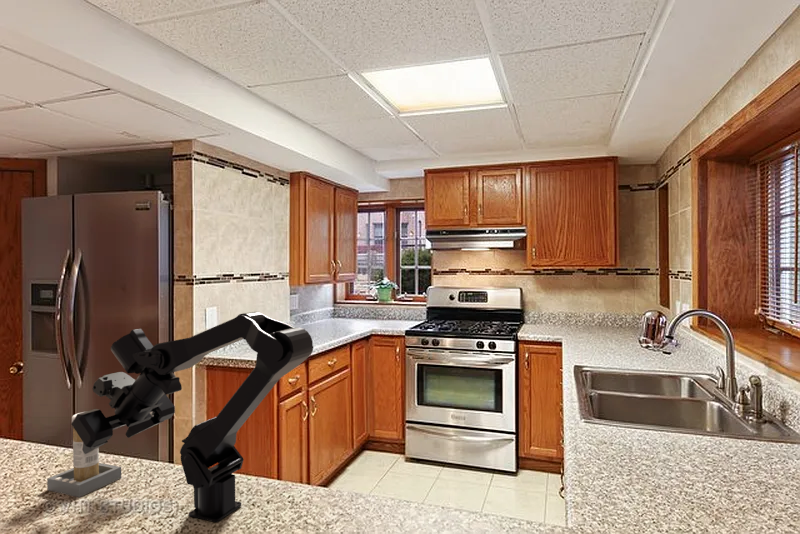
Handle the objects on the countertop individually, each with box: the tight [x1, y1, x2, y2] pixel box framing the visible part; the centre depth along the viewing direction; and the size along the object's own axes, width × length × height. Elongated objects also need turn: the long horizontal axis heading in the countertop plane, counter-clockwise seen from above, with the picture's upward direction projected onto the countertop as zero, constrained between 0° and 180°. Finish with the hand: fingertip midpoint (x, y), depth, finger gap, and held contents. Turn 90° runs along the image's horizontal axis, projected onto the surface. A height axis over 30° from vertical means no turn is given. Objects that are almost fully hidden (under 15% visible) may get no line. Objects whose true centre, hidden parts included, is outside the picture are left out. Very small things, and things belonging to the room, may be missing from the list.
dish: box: [46, 462, 122, 498], centre depth 99 cm, size 9×9×2 cm
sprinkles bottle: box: [71, 411, 100, 482], centre depth 99 cm, size 5×5×14 cm
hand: (106, 443), depth 96 cm, fingers open, 9 cm apart
